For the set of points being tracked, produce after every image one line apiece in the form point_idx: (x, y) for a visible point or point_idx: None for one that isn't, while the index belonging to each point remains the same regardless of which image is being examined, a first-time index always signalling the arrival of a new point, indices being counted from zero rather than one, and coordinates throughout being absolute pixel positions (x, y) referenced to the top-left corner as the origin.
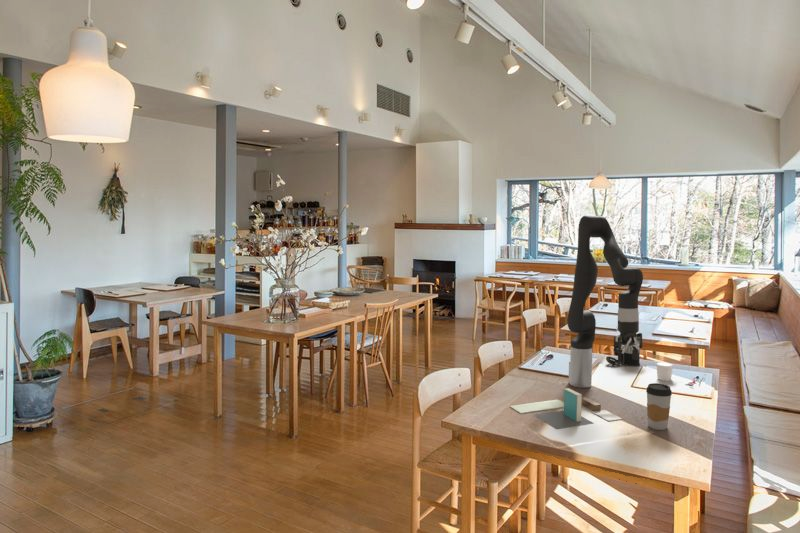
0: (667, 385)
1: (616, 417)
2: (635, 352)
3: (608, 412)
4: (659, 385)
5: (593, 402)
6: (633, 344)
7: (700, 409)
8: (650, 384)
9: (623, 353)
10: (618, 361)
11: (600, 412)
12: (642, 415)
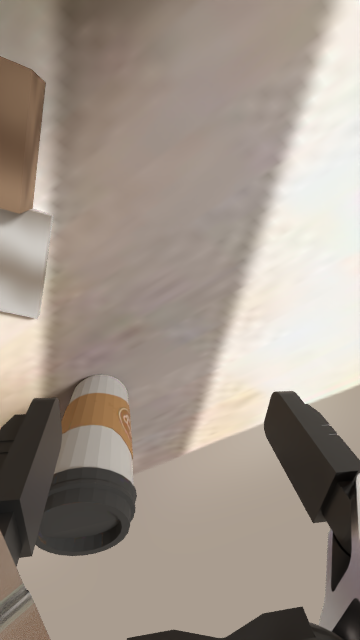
0: (126, 533)
1: (26, 300)
2: (305, 482)
3: (39, 250)
4: (105, 516)
5: (5, 167)
6: (350, 629)
7: (326, 380)
8: (69, 507)
9: (29, 549)
10: (32, 404)
11: (3, 229)
12: (150, 322)
